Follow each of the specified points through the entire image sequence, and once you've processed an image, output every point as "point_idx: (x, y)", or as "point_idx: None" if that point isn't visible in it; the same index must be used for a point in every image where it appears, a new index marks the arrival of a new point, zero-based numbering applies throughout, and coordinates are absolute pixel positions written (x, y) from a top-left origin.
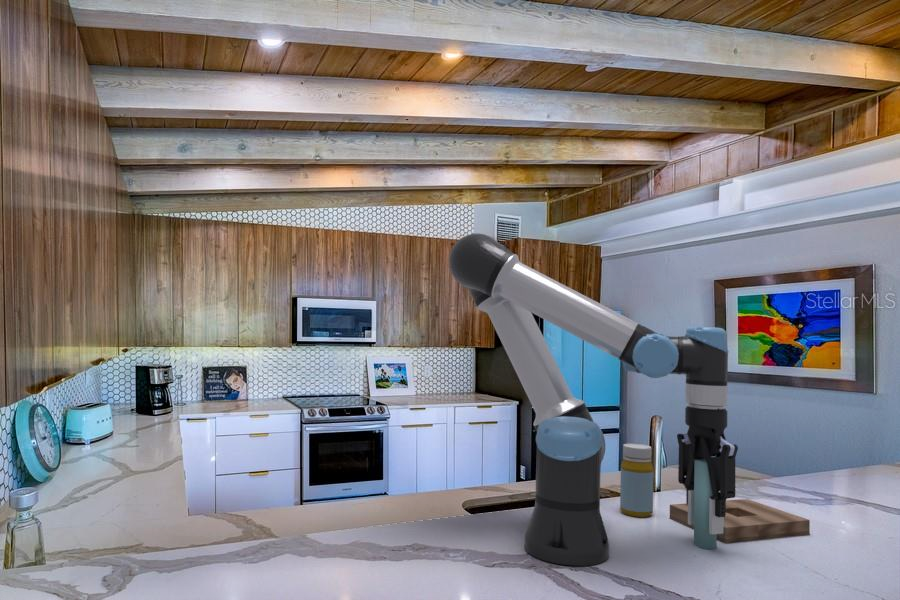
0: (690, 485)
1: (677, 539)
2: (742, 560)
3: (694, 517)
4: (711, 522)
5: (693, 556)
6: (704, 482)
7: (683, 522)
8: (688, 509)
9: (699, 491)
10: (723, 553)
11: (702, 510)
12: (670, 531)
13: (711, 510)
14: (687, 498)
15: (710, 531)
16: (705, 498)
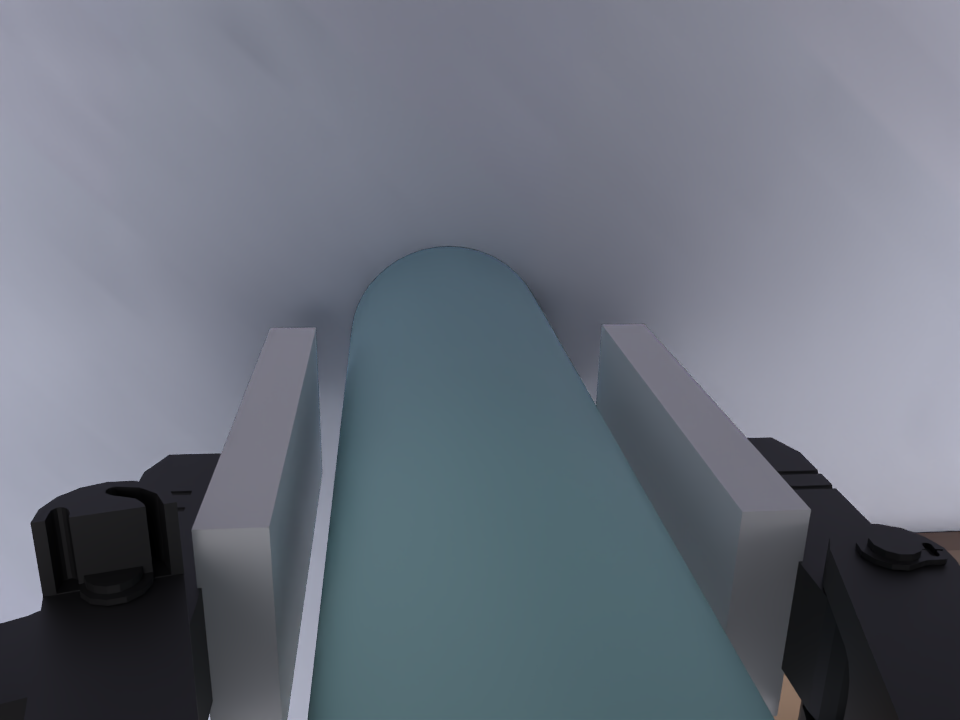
0: (831, 598)
1: (659, 204)
2: (61, 398)
3: (528, 335)
4: (261, 373)
5: (224, 7)
6: (377, 689)
7: (941, 541)
8: (687, 385)
9: (466, 506)
10: (243, 361)
11: (397, 391)
12: (850, 297)
13: (243, 439)
14: (801, 477)
15: (289, 335)
16: (364, 505)
